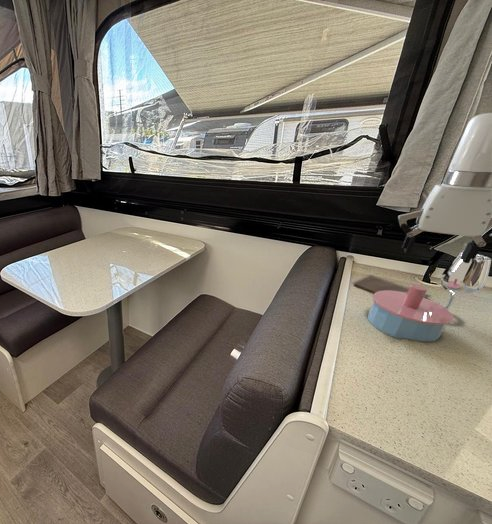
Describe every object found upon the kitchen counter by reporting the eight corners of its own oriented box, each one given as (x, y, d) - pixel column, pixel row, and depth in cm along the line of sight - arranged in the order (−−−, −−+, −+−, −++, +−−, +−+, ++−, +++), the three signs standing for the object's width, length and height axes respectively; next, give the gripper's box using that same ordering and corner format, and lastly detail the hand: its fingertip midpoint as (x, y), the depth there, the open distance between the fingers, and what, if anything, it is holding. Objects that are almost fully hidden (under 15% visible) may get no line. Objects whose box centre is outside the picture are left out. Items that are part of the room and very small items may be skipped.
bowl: (446, 333, 72) (458, 313, 70) (422, 351, 66) (434, 330, 64) (382, 306, 84) (390, 288, 82) (357, 320, 78) (364, 301, 76)
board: (426, 298, 89) (427, 295, 88) (410, 307, 84) (411, 305, 83) (371, 278, 102) (371, 276, 101) (353, 285, 97) (354, 283, 96)
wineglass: (459, 331, 73) (498, 265, 65) (420, 318, 78) (451, 255, 70) (461, 320, 77) (498, 256, 69) (424, 308, 83) (454, 248, 75)
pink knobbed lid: (461, 315, 70) (474, 293, 67) (435, 334, 63) (448, 310, 60) (388, 289, 83) (396, 269, 80) (360, 302, 76) (368, 281, 73)
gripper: (528, 181, 53) (484, 259, 60) (411, 176, 63) (385, 244, 70) (547, 185, 48) (496, 271, 55) (415, 179, 58) (386, 253, 65)
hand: (434, 256), depth 63 cm, fingers open, 9 cm apart
